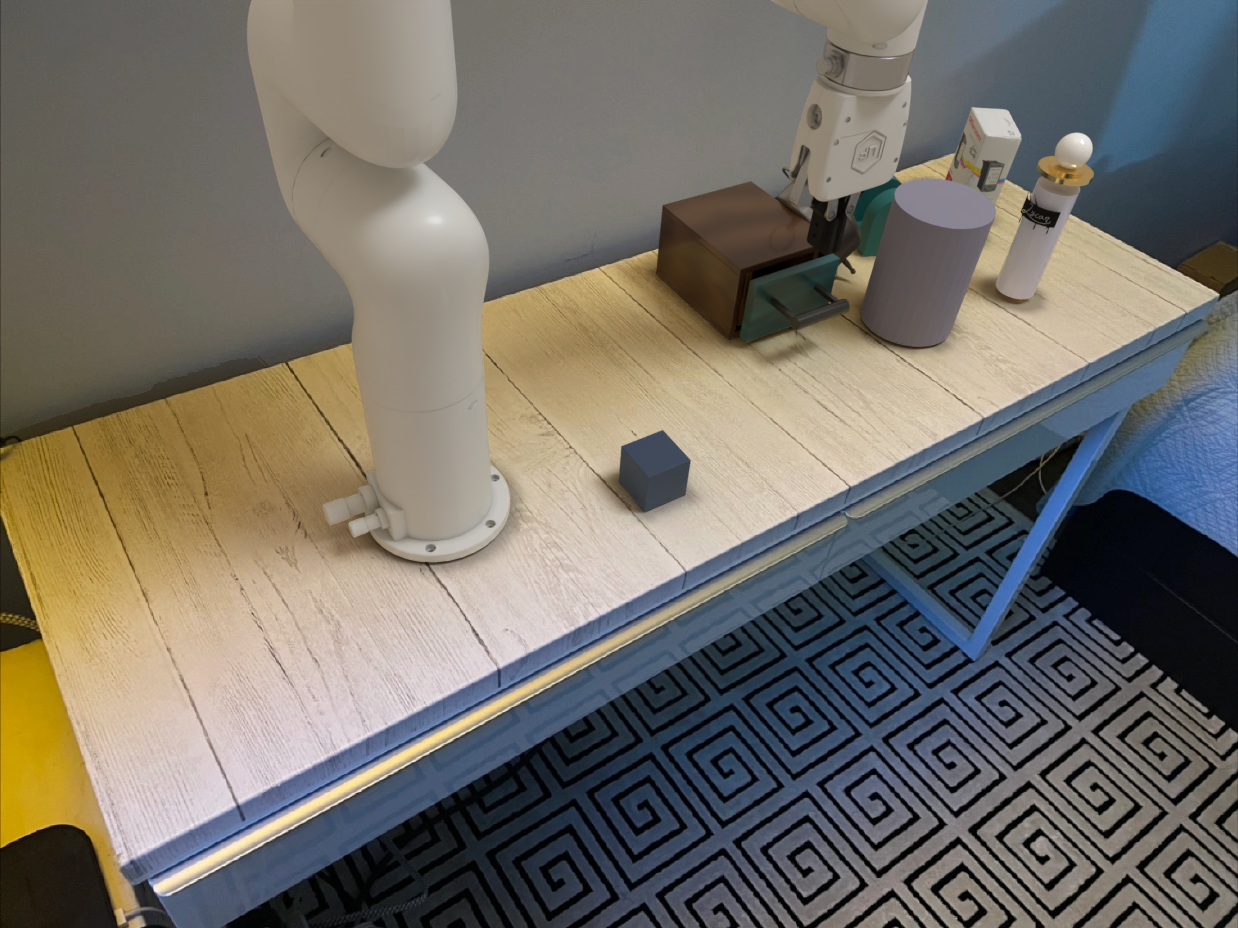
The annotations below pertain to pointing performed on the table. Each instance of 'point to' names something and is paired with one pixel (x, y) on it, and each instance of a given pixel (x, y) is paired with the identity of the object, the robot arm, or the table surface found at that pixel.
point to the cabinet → (725, 247)
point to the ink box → (985, 151)
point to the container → (926, 260)
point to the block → (654, 470)
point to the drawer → (789, 296)
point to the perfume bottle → (1045, 215)
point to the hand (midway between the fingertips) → (822, 246)
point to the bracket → (874, 215)
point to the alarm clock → (851, 231)
